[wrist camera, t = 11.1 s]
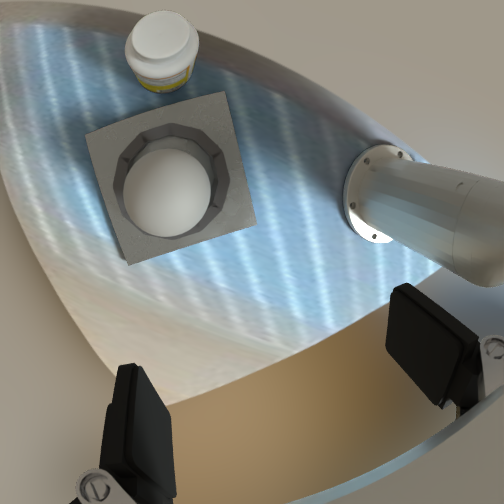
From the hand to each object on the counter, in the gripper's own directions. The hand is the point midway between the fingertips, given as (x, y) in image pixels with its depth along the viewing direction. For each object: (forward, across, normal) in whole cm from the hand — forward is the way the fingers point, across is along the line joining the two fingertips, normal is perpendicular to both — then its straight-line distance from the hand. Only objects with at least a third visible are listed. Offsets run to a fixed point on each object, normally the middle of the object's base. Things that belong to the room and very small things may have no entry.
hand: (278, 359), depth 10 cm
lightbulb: (+21, +4, -4) cm, 22 cm away
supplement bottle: (+22, +2, -16) cm, 27 cm away
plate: (+22, +3, -4) cm, 23 cm away
